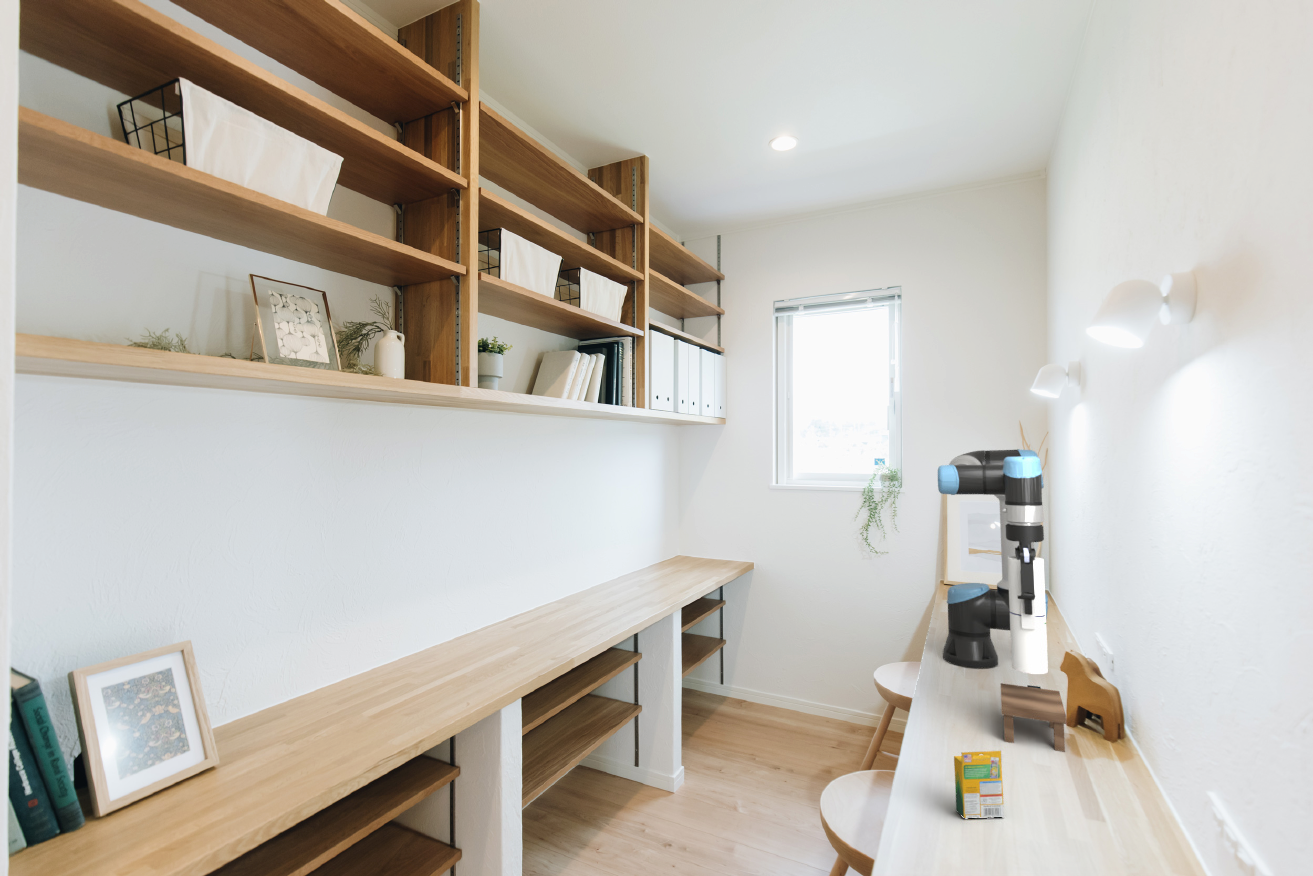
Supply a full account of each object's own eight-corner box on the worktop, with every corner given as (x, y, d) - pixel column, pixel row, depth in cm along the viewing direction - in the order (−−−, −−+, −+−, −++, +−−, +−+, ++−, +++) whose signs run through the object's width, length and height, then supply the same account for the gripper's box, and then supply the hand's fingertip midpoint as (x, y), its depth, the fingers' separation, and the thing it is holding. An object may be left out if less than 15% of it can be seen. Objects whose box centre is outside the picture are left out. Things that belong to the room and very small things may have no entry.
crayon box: (995, 809, 112) (992, 743, 113) (1005, 818, 109) (1002, 751, 110) (955, 810, 112) (952, 744, 112) (963, 820, 109) (961, 752, 109)
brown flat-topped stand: (1001, 716, 151) (1000, 683, 152) (1060, 725, 146) (1059, 691, 146) (1002, 741, 138) (1001, 705, 138) (1067, 753, 132) (1065, 714, 133)
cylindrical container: (1004, 666, 144) (1000, 557, 145) (1025, 662, 147) (1021, 555, 148) (1033, 676, 138) (1029, 561, 139) (1055, 671, 141) (1051, 559, 141)
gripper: (1004, 518, 154) (1008, 612, 153) (1006, 527, 136) (1010, 633, 136) (1040, 519, 151) (1044, 615, 150) (1046, 528, 133) (1050, 637, 132)
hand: (1027, 624), depth 143 cm, fingers closed on cylindrical container, 7 cm apart
